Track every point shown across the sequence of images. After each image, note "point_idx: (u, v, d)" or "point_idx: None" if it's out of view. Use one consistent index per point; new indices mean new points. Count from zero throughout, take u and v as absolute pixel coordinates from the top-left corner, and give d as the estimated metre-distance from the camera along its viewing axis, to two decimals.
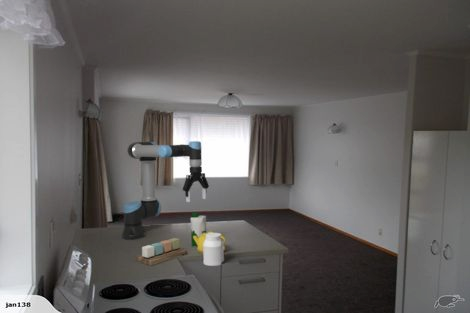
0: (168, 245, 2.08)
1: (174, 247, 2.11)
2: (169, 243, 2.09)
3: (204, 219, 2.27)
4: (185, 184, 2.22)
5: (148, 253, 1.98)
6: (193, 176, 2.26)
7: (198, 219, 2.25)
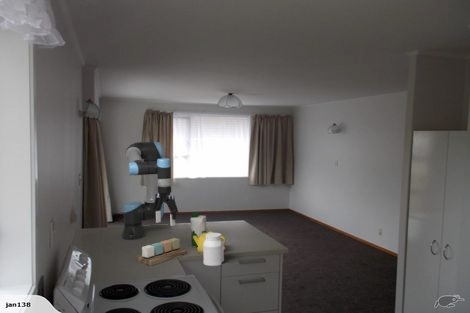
0: (168, 245, 2.08)
1: (174, 247, 2.11)
2: (169, 243, 2.09)
3: (204, 219, 2.27)
4: None
5: (148, 253, 1.98)
6: (159, 196, 2.09)
7: (198, 219, 2.25)
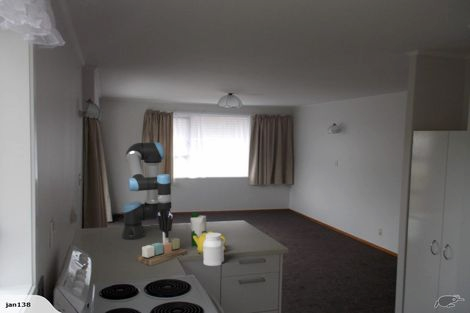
0: (168, 247, 2.08)
1: (174, 247, 2.11)
2: (169, 245, 2.09)
3: (204, 219, 2.27)
4: None
5: (148, 253, 1.98)
6: (160, 212, 2.10)
7: (198, 219, 2.25)
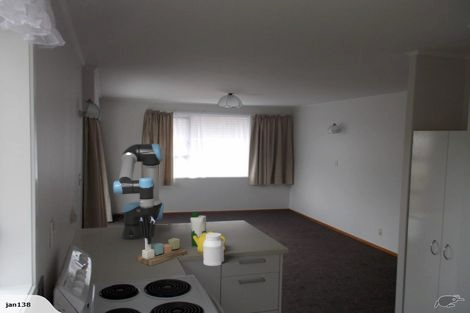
0: (168, 249, 2.08)
1: (174, 247, 2.11)
2: (169, 247, 2.09)
3: (204, 219, 2.27)
4: None
5: (148, 256, 1.98)
6: (142, 217, 2.00)
7: (198, 219, 2.25)
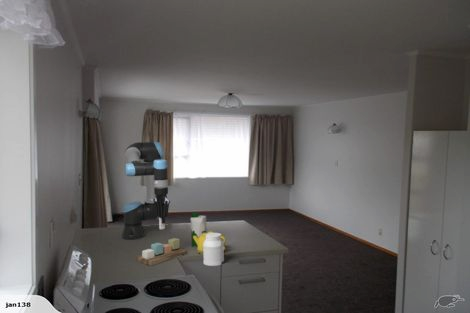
0: (168, 249, 2.08)
1: (174, 247, 2.11)
2: (169, 247, 2.09)
3: (204, 219, 2.27)
4: None
5: (148, 257, 1.98)
6: (156, 197, 2.08)
7: (198, 219, 2.25)
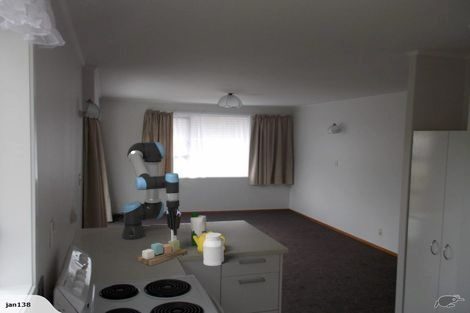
0: (168, 249, 2.08)
1: (174, 248, 2.11)
2: (169, 247, 2.09)
3: (204, 219, 2.27)
4: None
5: (148, 257, 1.98)
6: (168, 210, 2.14)
7: (198, 219, 2.25)
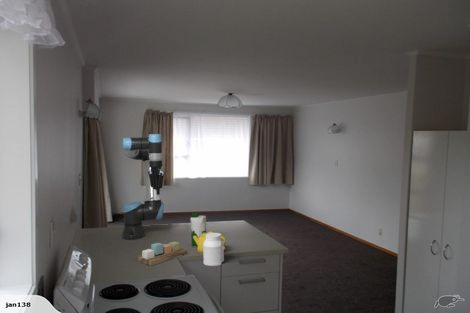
0: (168, 249, 2.08)
1: None
2: (169, 247, 2.09)
3: (204, 219, 2.27)
4: None
5: (148, 257, 1.98)
6: (151, 170, 2.19)
7: (198, 219, 2.25)
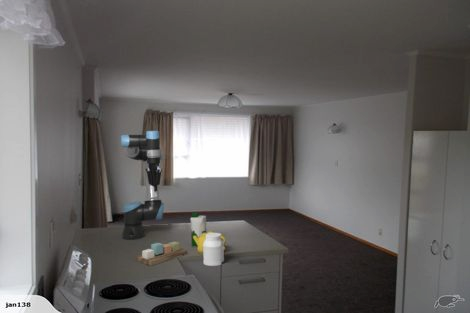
0: (168, 249, 2.08)
1: None
2: (169, 247, 2.09)
3: (204, 219, 2.27)
4: None
5: (148, 257, 1.98)
6: (149, 167, 2.19)
7: (198, 219, 2.25)
